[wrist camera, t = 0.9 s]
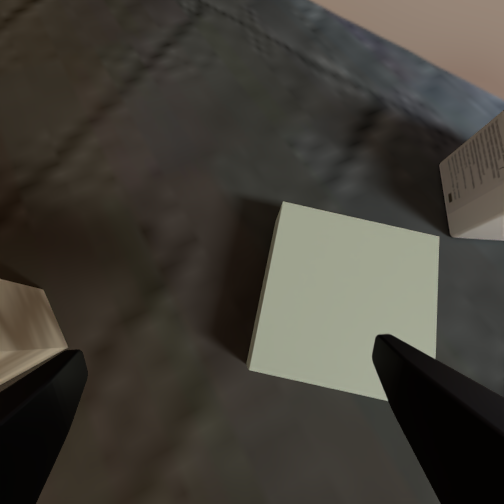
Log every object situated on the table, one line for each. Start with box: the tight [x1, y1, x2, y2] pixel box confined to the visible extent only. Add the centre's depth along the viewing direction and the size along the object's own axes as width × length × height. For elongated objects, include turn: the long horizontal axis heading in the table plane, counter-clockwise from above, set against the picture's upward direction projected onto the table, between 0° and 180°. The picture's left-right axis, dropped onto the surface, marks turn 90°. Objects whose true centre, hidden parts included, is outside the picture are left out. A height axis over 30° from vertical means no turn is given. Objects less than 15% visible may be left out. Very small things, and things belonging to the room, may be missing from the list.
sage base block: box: [246, 202, 439, 401], centre depth 22 cm, size 12×12×4 cm
